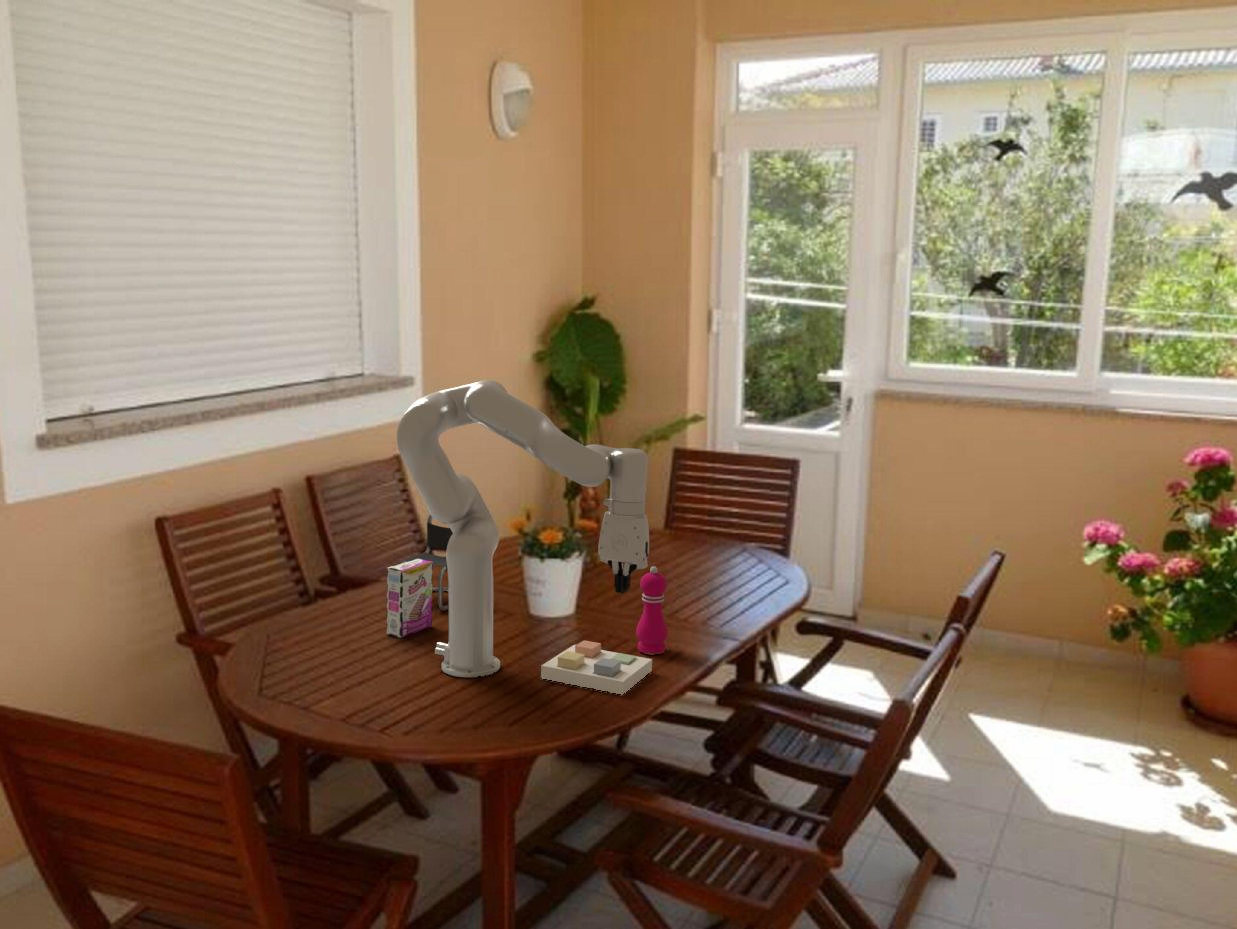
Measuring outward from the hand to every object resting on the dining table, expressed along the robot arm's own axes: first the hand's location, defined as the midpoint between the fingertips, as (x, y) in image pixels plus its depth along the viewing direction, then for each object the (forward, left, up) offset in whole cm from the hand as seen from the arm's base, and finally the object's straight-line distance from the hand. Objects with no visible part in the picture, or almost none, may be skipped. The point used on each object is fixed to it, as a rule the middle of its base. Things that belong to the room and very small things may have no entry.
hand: (621, 591), depth 230 cm
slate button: (+1, -8, -16) cm, 17 cm away
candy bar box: (-56, +1, -19) cm, 59 cm away
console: (-4, -4, -18) cm, 19 cm away
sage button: (+1, 0, -17) cm, 17 cm away
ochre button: (-8, -8, -16) cm, 19 cm away
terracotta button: (-8, 0, -16) cm, 18 cm away
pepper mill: (0, +16, -19) cm, 25 cm away
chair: (-64, +24, -19) cm, 71 cm away
